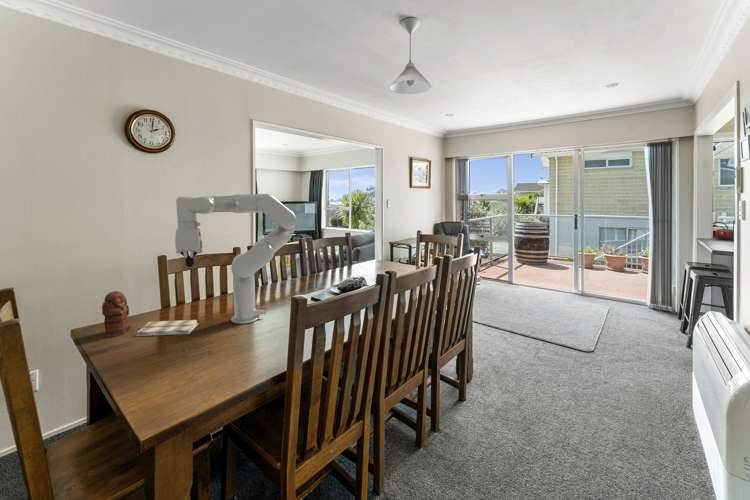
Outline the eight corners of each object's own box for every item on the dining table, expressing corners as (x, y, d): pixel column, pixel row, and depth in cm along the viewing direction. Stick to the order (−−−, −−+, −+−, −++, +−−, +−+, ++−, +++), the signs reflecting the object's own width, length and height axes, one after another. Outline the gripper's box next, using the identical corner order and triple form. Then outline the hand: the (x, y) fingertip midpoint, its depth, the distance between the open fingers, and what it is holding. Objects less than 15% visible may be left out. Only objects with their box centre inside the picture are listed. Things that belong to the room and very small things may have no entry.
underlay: (198, 324, 166) (198, 323, 166) (189, 333, 154) (189, 333, 154) (148, 326, 162) (148, 325, 162) (135, 336, 151) (135, 335, 151)
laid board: (192, 328, 160) (192, 325, 159) (188, 332, 154) (188, 329, 154) (143, 330, 156) (143, 327, 156) (137, 335, 151) (136, 332, 151)
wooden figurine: (120, 337, 150) (116, 295, 147) (103, 338, 149) (98, 295, 146) (133, 326, 161) (130, 287, 158) (117, 327, 160) (113, 288, 157)
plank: (196, 322, 165) (196, 319, 165) (192, 327, 160) (192, 325, 160) (149, 324, 162) (149, 321, 162) (143, 330, 157) (143, 327, 157)
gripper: (208, 224, 163) (210, 264, 166) (172, 224, 161) (175, 265, 164) (202, 226, 156) (205, 267, 159) (165, 226, 153) (168, 268, 156)
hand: (190, 266), depth 161 cm, fingers closed
